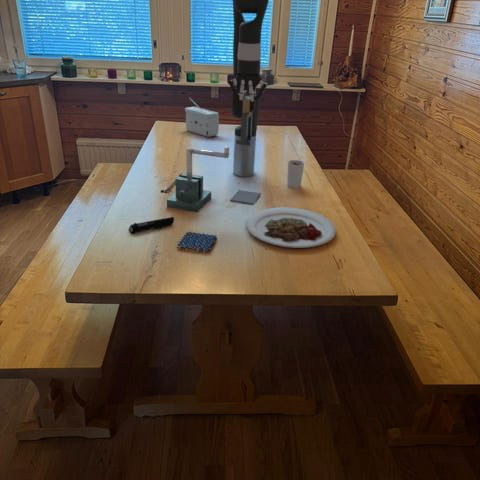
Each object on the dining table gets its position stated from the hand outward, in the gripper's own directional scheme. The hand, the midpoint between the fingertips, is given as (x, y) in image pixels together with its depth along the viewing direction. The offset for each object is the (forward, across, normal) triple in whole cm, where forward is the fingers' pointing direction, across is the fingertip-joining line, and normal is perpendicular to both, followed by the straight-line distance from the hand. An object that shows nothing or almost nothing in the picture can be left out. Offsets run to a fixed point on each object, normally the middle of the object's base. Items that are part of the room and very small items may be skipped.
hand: (247, 111), depth 156 cm
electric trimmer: (+33, +22, +33) cm, 52 cm away
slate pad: (+34, 0, -4) cm, 34 cm away
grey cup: (+35, -15, -25) cm, 45 cm away
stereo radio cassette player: (+37, +51, -87) cm, 107 cm away
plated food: (+34, -22, +18) cm, 44 cm away
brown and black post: (+11, 0, 0) cm, 11 cm away
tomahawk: (+35, +30, -7) cm, 47 cm away
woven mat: (+34, +4, +38) cm, 51 cm away
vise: (+34, +14, +10) cm, 38 cm away
